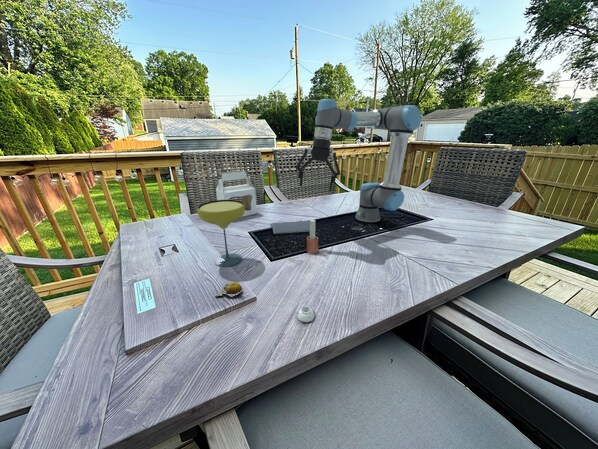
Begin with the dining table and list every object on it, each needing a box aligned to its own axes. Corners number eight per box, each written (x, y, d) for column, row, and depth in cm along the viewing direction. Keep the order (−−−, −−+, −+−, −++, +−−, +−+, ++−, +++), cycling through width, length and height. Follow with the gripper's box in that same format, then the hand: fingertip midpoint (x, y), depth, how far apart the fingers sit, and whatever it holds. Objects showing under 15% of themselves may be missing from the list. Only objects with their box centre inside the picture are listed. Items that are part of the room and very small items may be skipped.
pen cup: (316, 248, 117) (316, 235, 115) (319, 253, 113) (319, 239, 110) (305, 249, 117) (305, 236, 114) (307, 254, 112) (308, 240, 109)
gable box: (248, 209, 178) (245, 169, 169) (257, 213, 169) (254, 172, 159) (218, 215, 166) (213, 173, 156) (226, 220, 156) (221, 175, 146)
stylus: (314, 249, 116) (314, 219, 110) (315, 251, 114) (316, 221, 108) (309, 249, 115) (309, 219, 110) (310, 252, 113) (310, 221, 108)
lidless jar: (300, 309, 77) (295, 320, 73) (300, 302, 76) (294, 312, 72) (316, 313, 76) (311, 324, 71) (316, 305, 75) (311, 316, 70)
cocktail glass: (226, 276, 96) (218, 215, 87) (196, 263, 105) (187, 207, 96) (257, 257, 110) (253, 203, 101) (228, 247, 119) (222, 197, 110)
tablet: (309, 222, 152) (309, 220, 152) (315, 232, 136) (315, 230, 136) (271, 224, 149) (271, 222, 148) (273, 235, 133) (273, 233, 133)
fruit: (227, 283, 91) (226, 275, 89) (247, 287, 88) (246, 279, 87) (213, 297, 83) (211, 288, 82) (234, 302, 81) (233, 292, 80)
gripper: (292, 134, 104) (287, 184, 110) (352, 142, 101) (343, 193, 107) (295, 136, 111) (289, 183, 117) (350, 143, 109) (342, 190, 115)
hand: (315, 188), depth 112 cm, fingers open, 13 cm apart
